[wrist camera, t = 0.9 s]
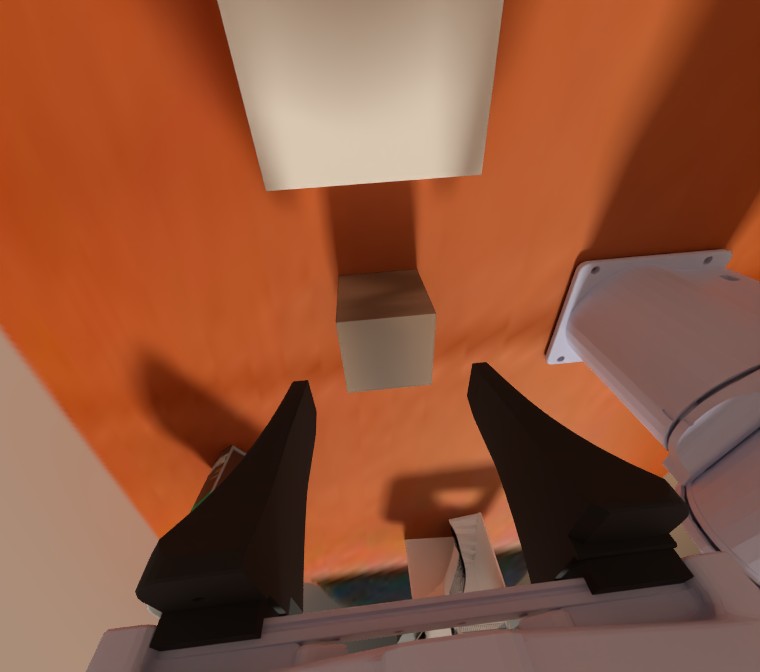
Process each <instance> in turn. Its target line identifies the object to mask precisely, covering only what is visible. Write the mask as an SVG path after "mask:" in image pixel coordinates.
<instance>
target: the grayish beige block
mask: <svg viewBox="0 0 760 672" xmlns="http://www.w3.org/2000/svg"><path fill="white" fill-rule="evenodd" d="M435 324H436V312H435V310H434V307H433V305H432V303H431V300H430V298H429V296H428V294H427V291H426V289H425V287H424V284H423V282H422V280H421V277H420V275H419V273H418V271H417V269H411V270H399V271H388V272H376V273H365V274H353V275H342V276H339V279H338V295H337V311H336V327H337V333H338V339H339V344H340V350H341V356H342V362H343V368H344V373H345V379H346V385H347V391H348V393H351V392H361V391H371V390H381V389H391V388H401V387H411V386H421V385H431V384H432V370H433V355H434V339H435Z"/></svg>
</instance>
